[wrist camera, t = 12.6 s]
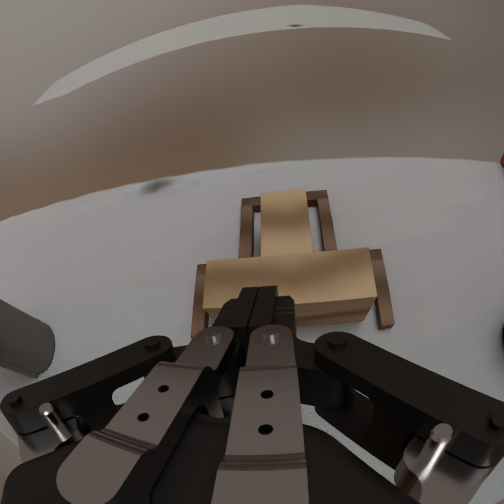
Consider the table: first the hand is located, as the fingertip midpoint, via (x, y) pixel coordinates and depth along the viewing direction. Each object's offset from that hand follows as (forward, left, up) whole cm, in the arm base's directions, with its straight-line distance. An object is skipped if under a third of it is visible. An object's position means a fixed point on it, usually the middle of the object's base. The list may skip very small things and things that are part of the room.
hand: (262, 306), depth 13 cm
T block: (+10, +5, -20) cm, 23 cm away
